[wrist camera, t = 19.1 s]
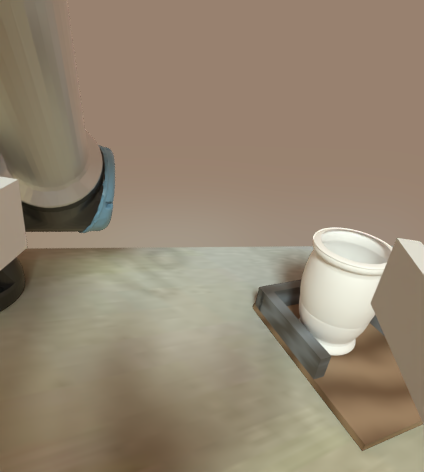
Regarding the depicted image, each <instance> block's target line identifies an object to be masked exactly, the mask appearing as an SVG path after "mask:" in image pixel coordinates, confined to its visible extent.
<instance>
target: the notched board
mask: <svg viewBox="0 0 424 472" xmlns="http://www.w3.org/2000/svg"><path fill="white" fill-rule="evenodd" d="M300 287H301V280H297V281H291V282H285V283H279V284H274V285H268V286H262V287H259V291H258V295H257V300H256V303H255V304H254V306H253V309H254V311H255V312H256V313H257V314H258V316H259V317H260V318H261V320H262V321H263V322H264V324H265V325H266V326H267V327H268V329H269V330H270V331H271V333H272V334H273V335H274V337H275V338H276V339H277V340H278V342H279V343H280V344H281V346H282V347H283V348H284V350H285V351H286V352H287V353H288V355H289V356H290V357H291V359H292V360H293V361H294V363H295V364H296V365H297V367H298V368H299V369H300V370H301V372H302V373H303V374H304V376H305V377H306V378H307V380H308V381H309V382H310V383H311V385H312V386H313V387H314V389H315V390H316V391H317V393H318V394H319V395H320V396H321V398H322V399H323V400H324V402H325V403H326V404H327V406H328V407H329V408H330V409H331V411H332V412H333V413H334V415H335V416H336V417H337V419H338V420H339V421H340V422H341V424H342V425H343V426H344V428H345V429H346V430H347V432H348V433H349V434H350V435H351V437H352V438H353V439H354V441H355V442H356V443H357V445H358V446H359V447H360V449H361V450H362V451H363V450H366V449H368V448H370V447H372V446H375V445H377V444H379V443H381V442H384V441H386V440H388V439H390V438H393V437H395V436H397V435H399V434H402V433H404V432H406V431H408V430H411V429H413V428H415V427H417V426H420V425H422V424H423V422H422V420H421V418H420V415H419V413H418V411H417V409H416V406H415V404H414V402H413V399H412V397H411V395H410V393H409V390H408V388H407V386H406V383H405V381H404V379H403V377H402V374H401V372H400V370H399V367H398V365H397V363H396V361H395V358H394V356H393V354H392V351H391V349H390V347H389V345H388V342H387V340H386V338H385V335H384V333H383V331H382V329H381V326H380V324H379V322H378V319H377V317H376V315H375V316H374V317H373V318H372V320H371V321H370V323H369V324H368V326H367V327H366V329H365V330H364V331H363V332H362V333H361V334H360V335H359V336H358V337H357V338H356V343H355V347H354V348H353V350H352V351H351V352H349V353H347V354H344V355H338V356H335V355H330V354H329V353H328V352H327V351H326V350H325V349H324V347H323V346H322V345H321V344H320V343H319V342H318V341H317V340H316V338H315V337H314V336H313V335H312V334H311V333H310V332H309V331H308V329H307V328H306V327H305V326H304V325H303V324H302V323H301V322H300V320H299V318H300V314H299V299H300Z"/></svg>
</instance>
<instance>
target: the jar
mask: <svg viewBox="0 0 424 472" xmlns="http://www.w3.org/2000/svg"><path fill="white" fill-rule="evenodd" d="M312 244H313V248H314V250H313V251H312V253H311V255H310V256H309V259H308V261H307V263H306V266H305V268H304V271H303V275H302V280H301V287H300V299H299V314H300V318H299V320H300V322H301V323H302V324H303V325H304V326H305V327H306V328H307V329H308V331H309V332H310V333H311V334H312V335H313V336H314V337H315V338H316V340H317V341H318V342H319V343H320V344H321V345H322V346H323V347H324V349H325V350H326V351H327V352H328V353H329V354H330V355H335V356H338V355H344V354H347V353H349V352H351V351H352V350H353V348H354V347H355V343H356V338H357V337H358V336H359V335H360V334H361V333H362V332H363V331H364V330H365V329H366V327H367V326H368V324H369V323H370V321H371V320H372V318H373V317H374V316H375V312H374V310H373V308H372V306H371V301H372V298H373V296H374V293H375V291H376V288H377V286H378V283H379V281H380V278H381V276H382V273H383V271H384V268H385V266H386V264H387V261H388V259H389V256H390V254H391V251H392V249H393V248H392V247H391V246H390V245H388V244H387V243H385V242H384V241H382V240H380V239H379V238H376V237H374V236H372V235H369V234H367V233H363V232H360V231H356V230H352V229H346V228H325V229H322V230H319V231H318V232H316V233H315V234H314V237H313V241H312Z"/></svg>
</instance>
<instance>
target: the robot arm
mask: <svg viewBox="0 0 424 472" xmlns="http://www.w3.org/2000/svg"><path fill="white" fill-rule="evenodd" d="M114 188H115V163H114V156H113V153H112V151H111V150H110V149H109V148H107V147H102V146H100V145H98V144H97V142H96V141H95V140H94V138H93V137H92V136H91V135H90V134H89V133H88V132H87V131H86V130H85V125H84V118H83V112H82V104H81V96H80V89H79V82H78V75H77V68H76V60H75V53H74V47H73V39H72V31H71V25H70V17H69V10H68V3H67V0H0V311H1V310H3V309H4V308H6V307H8V306H9V305H10V304H12V303H13V302H14V301H15V300H16V299H17V298H18V297H19V296H20V295H21V293H22V291H23V289H24V287H25V278H24V271H23V268H22V265H21V263H20V262H19V260H18V259H17V256H18V255H19V254H20V253H21V252H23V251H24V250H25V249H26V248H27V239H26V232H44V231H45V232H49V231H51V232H54V231H55V232H61V231H62V232H63V231H67V232H68V231H78V232H80V233H86V232H88V231H100V230H103V229H105V228H106V227H107V226H108V224H109V223H110V220H111V216H112V209H113V203H112V202H113V198H114ZM371 306H372V308H373V310H374V312H375V315H376V317H377V319H378V322H379V324H380V326H381V329H382V331H383V333H384V335H385V338H386V340H387V342H388V345H389V347H390V349H391V351H392V354H393V356H394V358H395V361H396V363H397V365H398V367H399V370H400V372H401V374H402V377H403V379H404V381H405V383H406V386H407V388H408V390H409V393H410V395H411V397H412V399H413V402H414V404H415V406H416V409H417V411H418V413H419V415H420V418H421V420H422V422H423V425H424V246H423V245H422V243H421V242H419V241H414V240H407V239H401V238H397V239H396V242H395V244H394V246H393V249H392V251H391V254H390V256H389V259H388V261H387V264H386V266H385V268H384V271H383V273H382V276H381V278H380V281H379V283H378V286H377V288H376V291H375V293H374V296H373V298H372V301H371Z"/></svg>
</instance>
